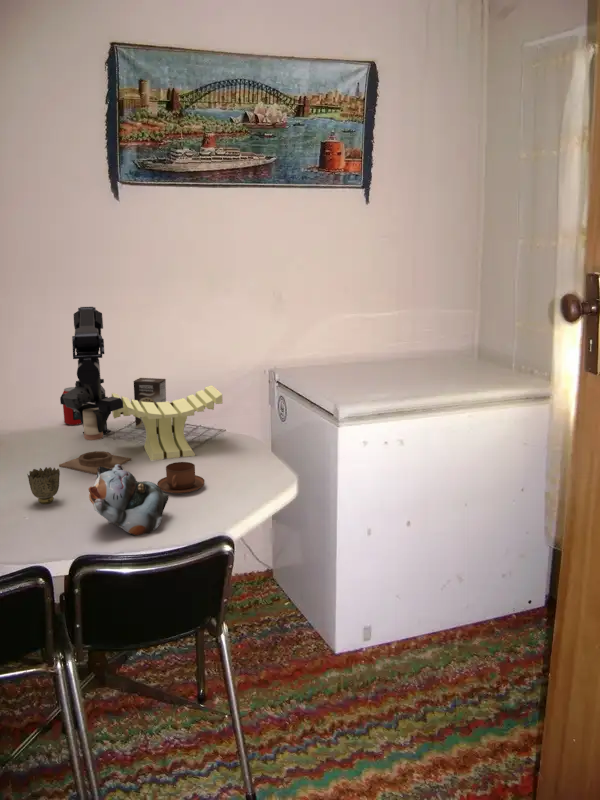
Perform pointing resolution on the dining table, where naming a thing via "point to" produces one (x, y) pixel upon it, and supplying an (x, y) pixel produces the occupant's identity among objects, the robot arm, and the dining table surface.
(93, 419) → the beige rounded peg
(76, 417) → the beverage can
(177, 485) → the cup and saucer
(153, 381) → the coffee box
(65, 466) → the walnut socket
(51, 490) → the cup
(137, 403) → the slatted curved stool
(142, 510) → the lucky cat figurine
